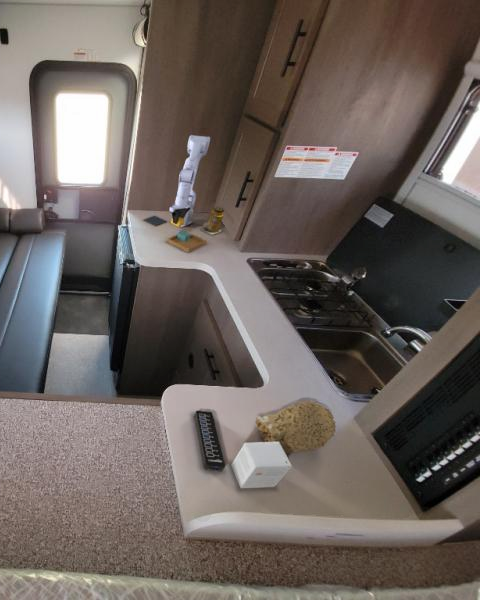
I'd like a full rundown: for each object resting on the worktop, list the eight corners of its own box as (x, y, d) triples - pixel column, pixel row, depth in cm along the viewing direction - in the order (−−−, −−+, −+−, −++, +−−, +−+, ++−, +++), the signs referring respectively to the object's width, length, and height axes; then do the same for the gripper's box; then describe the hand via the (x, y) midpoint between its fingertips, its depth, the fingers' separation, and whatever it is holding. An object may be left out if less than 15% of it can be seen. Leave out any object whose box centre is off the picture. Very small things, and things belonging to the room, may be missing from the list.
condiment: (222, 230, 176) (228, 209, 168) (212, 235, 172) (218, 213, 165) (210, 226, 181) (216, 205, 173) (201, 230, 177) (206, 208, 169)
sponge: (271, 465, 80) (356, 451, 78) (273, 443, 76) (362, 428, 75) (245, 422, 91) (319, 409, 90) (246, 401, 88) (322, 388, 86)
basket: (184, 234, 172) (185, 231, 171) (205, 243, 164) (206, 240, 163) (166, 242, 165) (167, 238, 164) (188, 252, 157) (189, 249, 156)
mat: (154, 216, 190) (154, 215, 190) (166, 221, 184) (166, 221, 184) (143, 220, 185) (143, 219, 185) (155, 226, 180) (155, 225, 180)
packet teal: (181, 236, 170) (182, 230, 168) (189, 239, 167) (190, 234, 165) (176, 238, 168) (177, 233, 166) (184, 242, 165) (185, 236, 163)
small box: (262, 463, 79) (279, 440, 72) (274, 488, 74) (293, 466, 68) (230, 464, 78) (244, 441, 72) (239, 489, 74) (255, 467, 67)
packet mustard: (175, 221, 168) (176, 215, 166) (183, 224, 165) (184, 219, 163) (170, 223, 166) (171, 217, 164) (178, 226, 163) (179, 221, 161)
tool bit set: (210, 416, 88) (212, 411, 87) (223, 471, 77) (225, 467, 76) (193, 415, 89) (195, 410, 87) (203, 469, 77) (206, 464, 76)
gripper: (180, 201, 151) (174, 228, 159) (199, 194, 158) (192, 220, 166) (168, 197, 155) (163, 223, 163) (187, 190, 162) (181, 216, 170)
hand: (177, 221), depth 165 cm, fingers closed on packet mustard, 4 cm apart
